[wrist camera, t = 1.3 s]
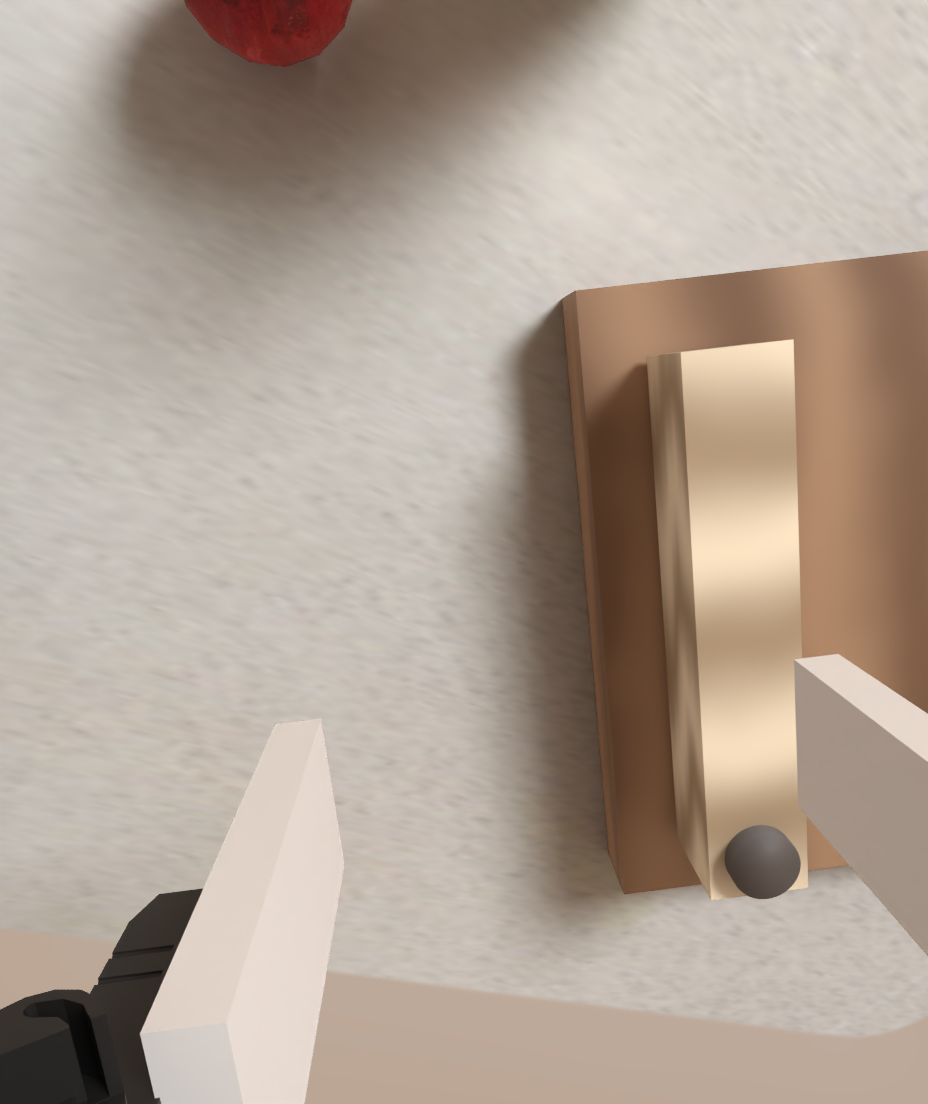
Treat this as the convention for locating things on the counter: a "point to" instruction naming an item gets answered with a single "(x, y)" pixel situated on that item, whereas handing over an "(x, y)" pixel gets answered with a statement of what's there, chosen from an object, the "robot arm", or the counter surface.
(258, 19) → the onion
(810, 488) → the brown flat square block
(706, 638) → the folding leg
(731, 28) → the counter surface
